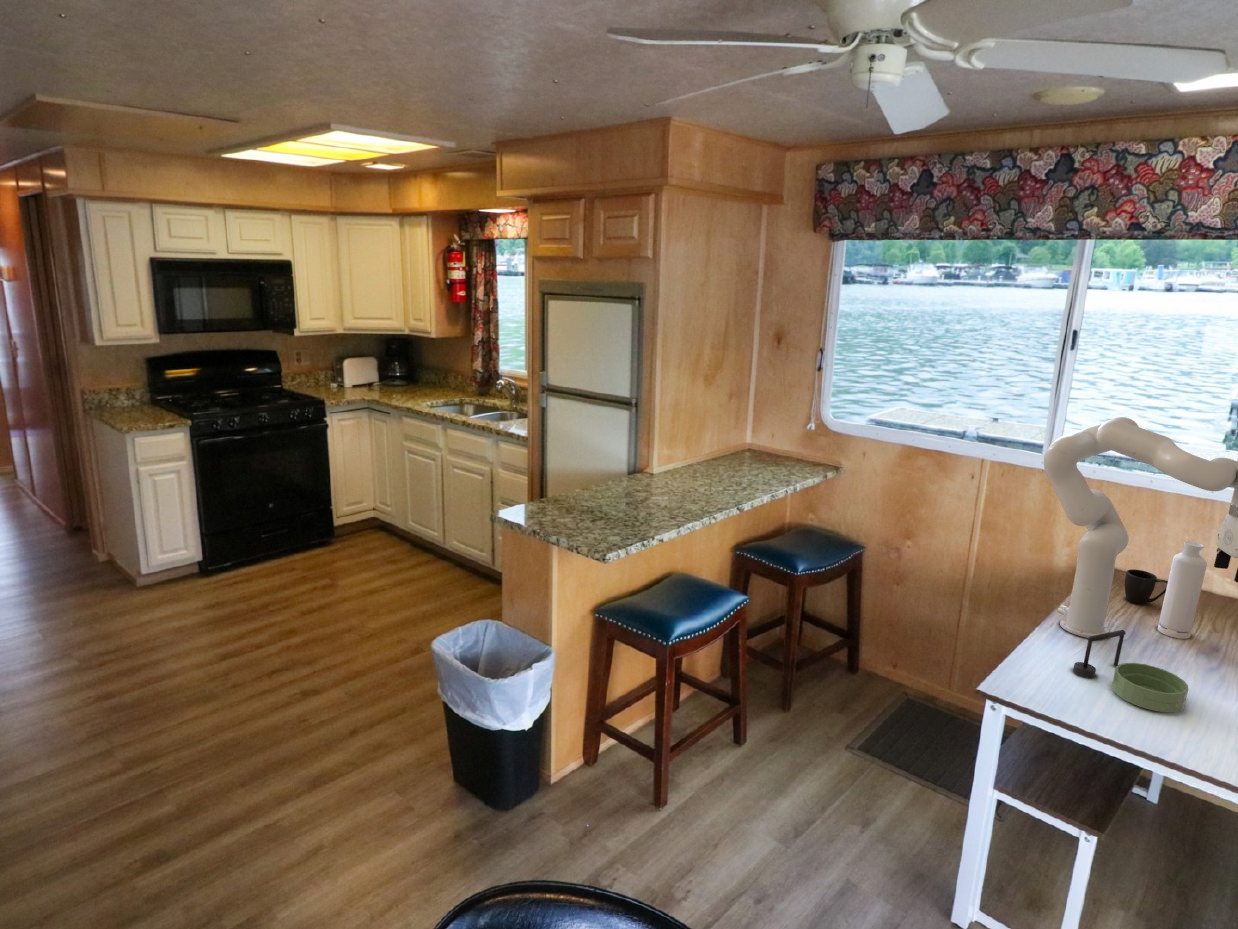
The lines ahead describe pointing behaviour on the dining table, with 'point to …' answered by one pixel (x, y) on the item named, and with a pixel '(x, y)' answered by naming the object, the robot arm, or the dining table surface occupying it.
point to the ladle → (1085, 668)
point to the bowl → (1150, 687)
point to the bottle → (1183, 591)
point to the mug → (1141, 586)
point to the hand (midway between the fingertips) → (1230, 575)
